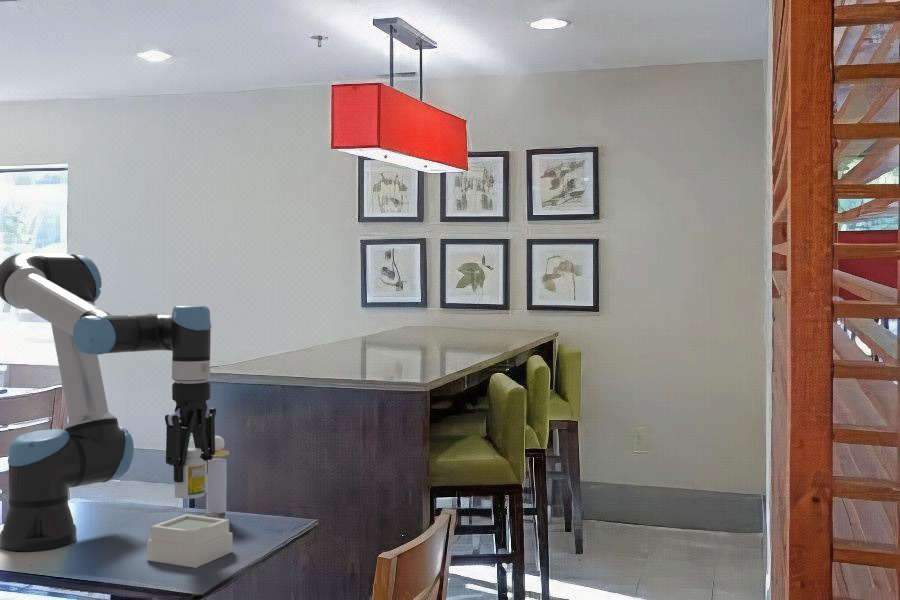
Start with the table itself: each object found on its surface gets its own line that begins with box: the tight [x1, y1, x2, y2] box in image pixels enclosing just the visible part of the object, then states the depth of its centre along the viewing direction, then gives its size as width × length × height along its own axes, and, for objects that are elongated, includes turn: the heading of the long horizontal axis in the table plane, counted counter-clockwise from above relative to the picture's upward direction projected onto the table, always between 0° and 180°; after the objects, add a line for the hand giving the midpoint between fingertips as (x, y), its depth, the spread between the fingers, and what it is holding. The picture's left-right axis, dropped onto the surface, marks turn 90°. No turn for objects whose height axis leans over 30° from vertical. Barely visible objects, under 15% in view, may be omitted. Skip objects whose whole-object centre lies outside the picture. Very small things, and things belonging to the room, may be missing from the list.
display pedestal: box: [146, 513, 234, 569], centre depth 190 cm, size 12×12×7 cm
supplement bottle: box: [185, 447, 206, 499], centre depth 190 cm, size 5×5×10 cm
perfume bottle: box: [205, 435, 230, 519], centre depth 219 cm, size 6×6×20 cm
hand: (191, 494), depth 190 cm, fingers closed on supplement bottle, 5 cm apart
